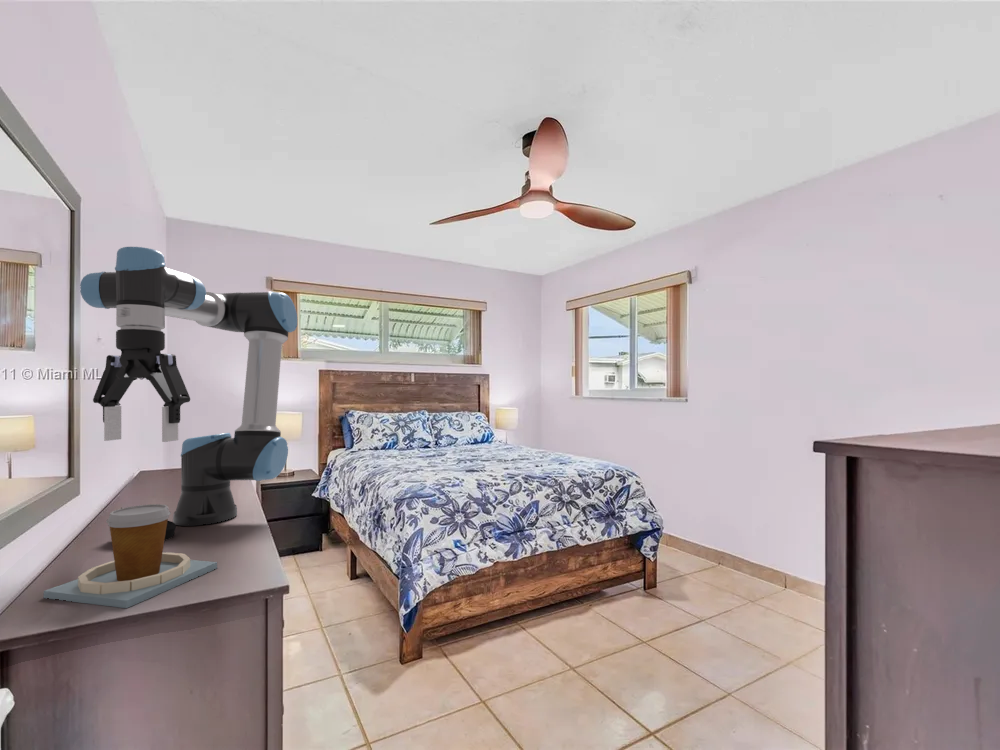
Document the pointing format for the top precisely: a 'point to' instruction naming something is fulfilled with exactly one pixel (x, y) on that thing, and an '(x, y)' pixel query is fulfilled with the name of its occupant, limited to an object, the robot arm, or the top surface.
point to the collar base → (131, 595)
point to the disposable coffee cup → (138, 539)
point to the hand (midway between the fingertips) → (141, 440)
